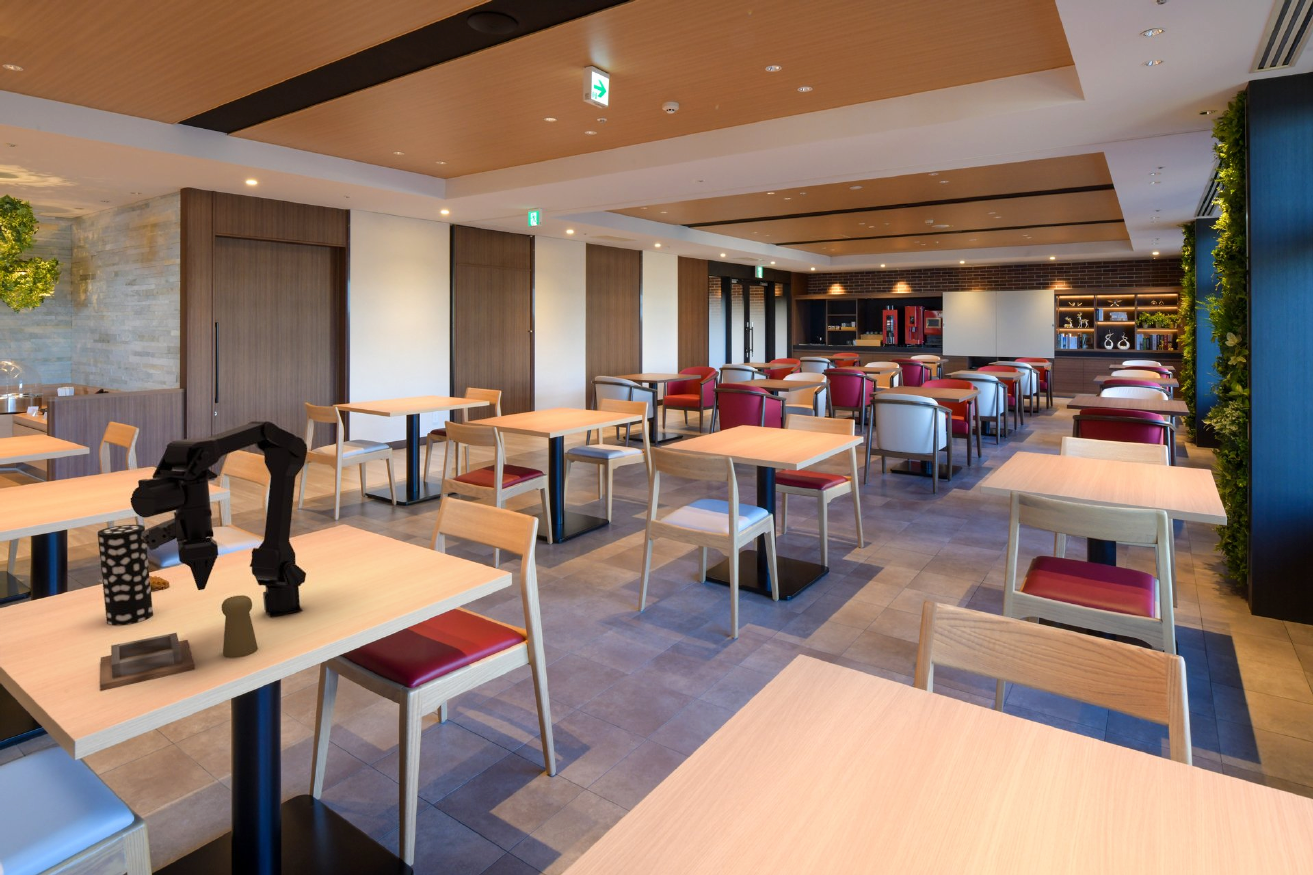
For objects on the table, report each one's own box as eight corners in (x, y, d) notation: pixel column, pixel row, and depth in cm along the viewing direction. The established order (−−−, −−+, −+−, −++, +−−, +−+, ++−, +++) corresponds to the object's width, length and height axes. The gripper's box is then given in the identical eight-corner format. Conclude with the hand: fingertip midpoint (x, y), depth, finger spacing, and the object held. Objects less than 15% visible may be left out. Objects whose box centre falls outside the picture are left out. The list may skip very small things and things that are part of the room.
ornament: (139, 562, 186) (103, 568, 171) (183, 570, 187) (151, 576, 172) (132, 589, 185) (95, 597, 170) (176, 596, 187) (143, 605, 172)
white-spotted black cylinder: (161, 614, 164) (153, 527, 161) (121, 627, 156) (112, 536, 154) (138, 608, 167) (130, 523, 165) (98, 621, 160) (88, 531, 157)
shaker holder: (188, 644, 148) (186, 627, 148) (194, 669, 137) (193, 651, 136) (101, 662, 140) (99, 644, 139) (100, 690, 129) (98, 671, 128)
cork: (242, 659, 141) (238, 603, 140) (215, 656, 143) (210, 601, 141) (265, 646, 147) (261, 593, 146) (238, 643, 148) (234, 591, 147)
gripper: (142, 501, 146) (150, 577, 148) (141, 521, 130) (150, 605, 132) (208, 494, 152) (214, 567, 154) (214, 512, 136) (221, 593, 139)
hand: (200, 582), depth 145 cm, fingers open, 9 cm apart
